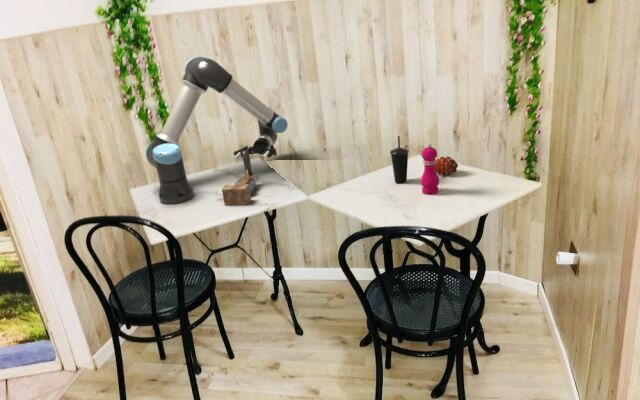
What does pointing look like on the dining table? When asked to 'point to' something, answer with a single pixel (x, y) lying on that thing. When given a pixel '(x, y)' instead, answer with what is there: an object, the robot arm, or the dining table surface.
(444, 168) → the pine cone
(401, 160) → the drinking cup
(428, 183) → the pepper mill
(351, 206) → the dining table surface
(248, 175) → the mallet
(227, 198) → the socket block
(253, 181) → the channel
